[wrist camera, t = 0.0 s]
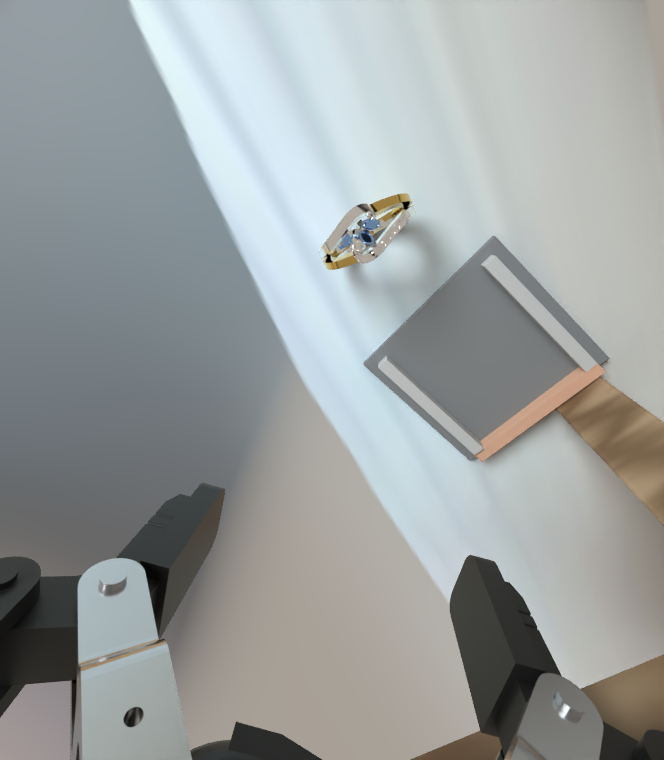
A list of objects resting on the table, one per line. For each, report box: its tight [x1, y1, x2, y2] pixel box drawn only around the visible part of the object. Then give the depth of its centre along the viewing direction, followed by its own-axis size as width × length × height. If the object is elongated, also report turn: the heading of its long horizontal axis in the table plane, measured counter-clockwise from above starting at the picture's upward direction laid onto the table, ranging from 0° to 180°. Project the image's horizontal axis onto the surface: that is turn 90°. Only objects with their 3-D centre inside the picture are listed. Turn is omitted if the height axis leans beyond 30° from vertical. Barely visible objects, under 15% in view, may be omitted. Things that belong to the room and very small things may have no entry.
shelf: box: [411, 376, 664, 760], centre depth 21 cm, size 14×14×27 cm
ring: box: [318, 194, 416, 270], centre depth 26 cm, size 7×3×8 cm, turn 116°
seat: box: [364, 236, 609, 462], centre depth 32 cm, size 14×14×2 cm
